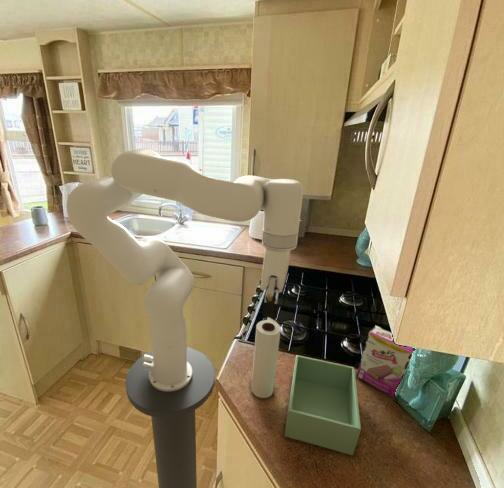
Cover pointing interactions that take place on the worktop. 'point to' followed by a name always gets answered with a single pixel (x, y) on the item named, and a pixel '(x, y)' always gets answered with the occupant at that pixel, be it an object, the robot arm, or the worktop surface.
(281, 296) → the robot arm
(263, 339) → the paper towel roll
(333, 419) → the bin
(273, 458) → the worktop surface
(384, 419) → the worktop surface
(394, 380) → the candy bar box
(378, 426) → the worktop surface
